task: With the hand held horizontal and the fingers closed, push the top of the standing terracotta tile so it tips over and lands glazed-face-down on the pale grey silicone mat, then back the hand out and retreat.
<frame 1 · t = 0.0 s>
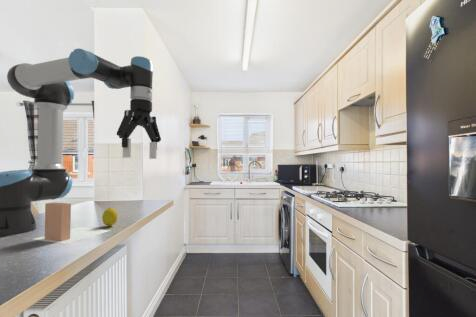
hand: (140, 158, 92), 28 cm above the table, tool pointing down, fingers open, 13 cm apart
mat: (74, 235, 91), on the table
tile: (57, 239, 86), resting on mat
lemon: (109, 227, 104), on the table
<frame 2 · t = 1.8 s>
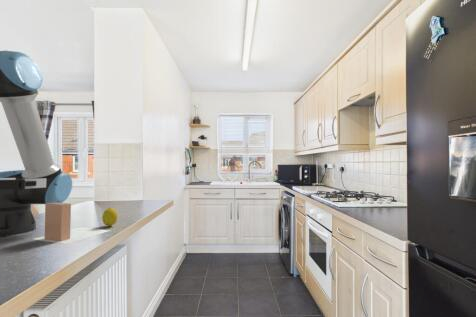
hand: (29, 182, 78), 20 cm above the table, tool horizontal, fingers open, 13 cm apart
nothing on the table moved.
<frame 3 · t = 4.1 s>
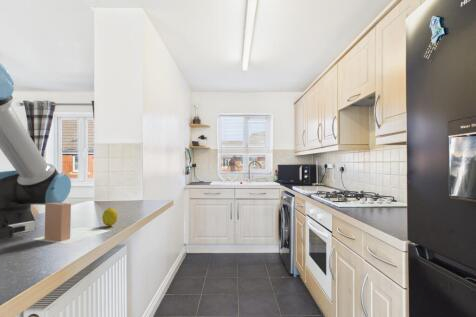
hand: (33, 225, 79), 7 cm above the table, tool horizontal, fingers closed
nothing on the table moved.
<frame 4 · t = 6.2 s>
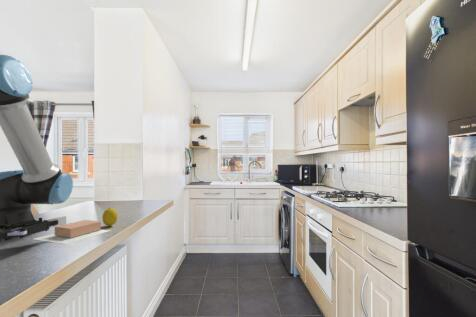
hand: (64, 220, 88), 6 cm above the table, tool horizontal, fingers closed
tile: (62, 232, 87), point 2 cm above the table, tilted 90°, touching mat
everything else where it was.
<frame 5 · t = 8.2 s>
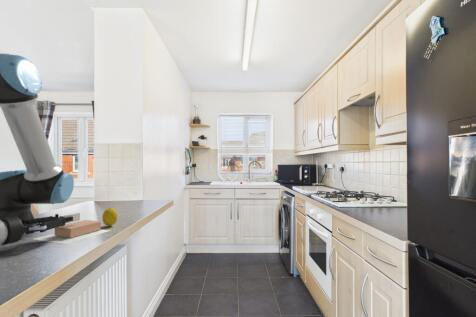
hand: (78, 216, 93), 7 cm above the table, tool horizontal, fingers closed
nothing on the table moved.
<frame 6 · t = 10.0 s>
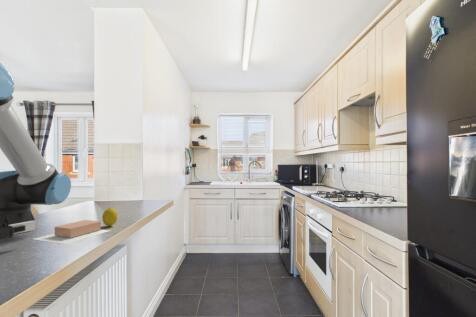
hand: (34, 225, 79), 7 cm above the table, tool horizontal, fingers closed
nothing on the table moved.
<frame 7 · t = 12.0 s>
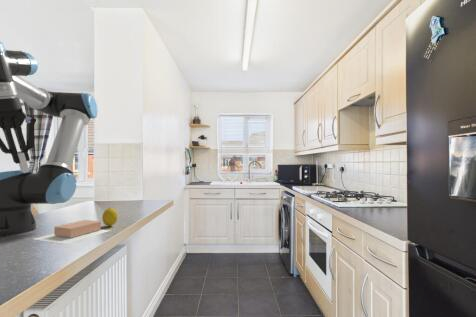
hand: (25, 171, 82), 23 cm above the table, tool tilted 20°, fingers closed
nothing on the table moved.
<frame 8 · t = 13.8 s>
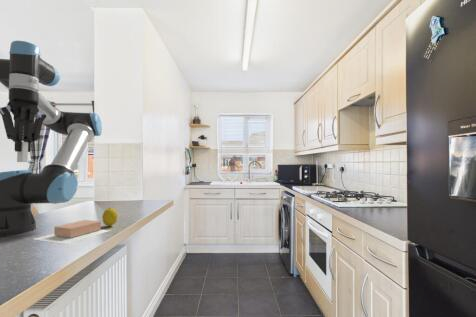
hand: (22, 161, 82), 26 cm above the table, tool pointing down, fingers closed
nothing on the table moved.
at the end: tile tilted 90°; tile inside the target area (4.2 cm from its centre), point 2.2 cm above the table; the gripper is holding nothing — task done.
